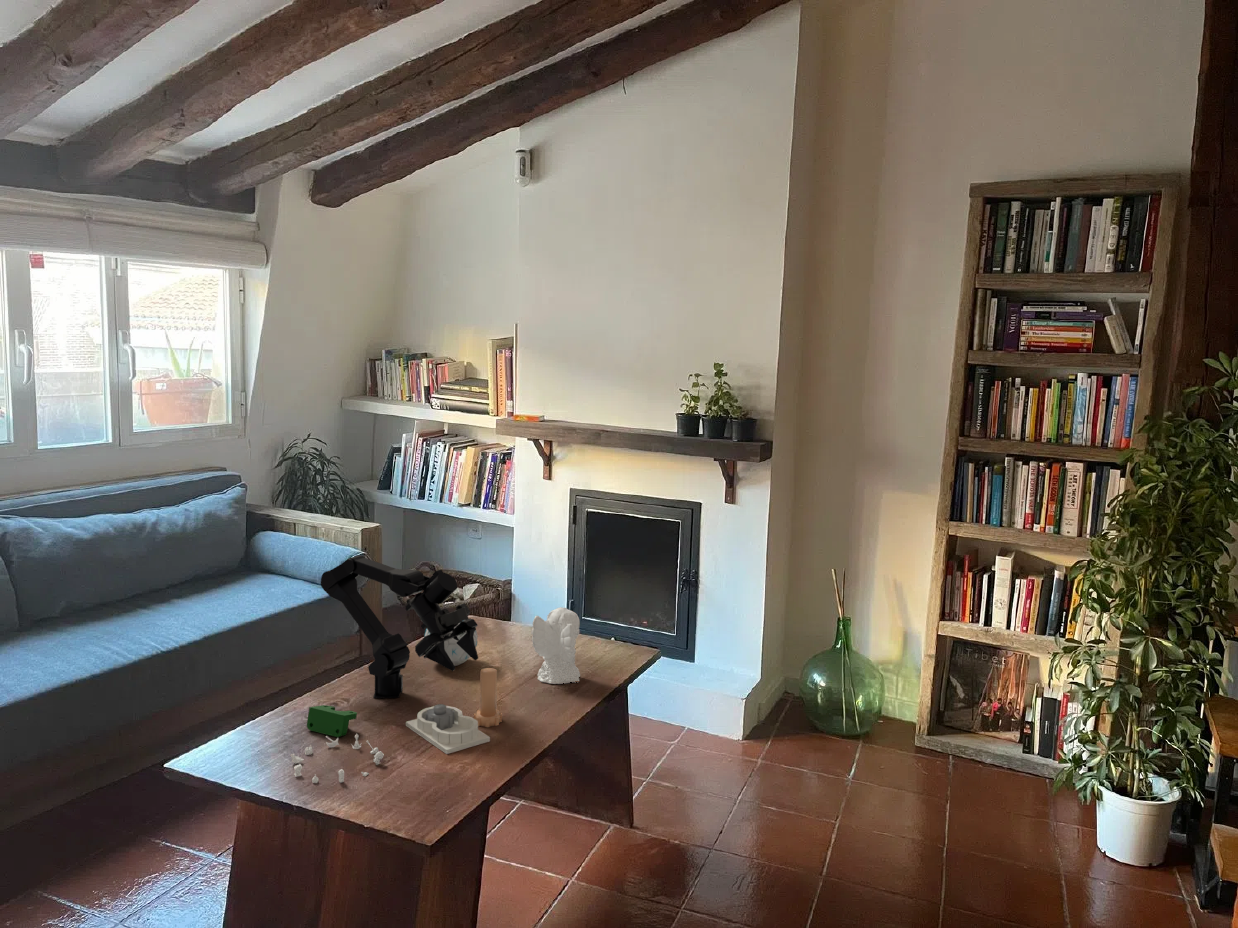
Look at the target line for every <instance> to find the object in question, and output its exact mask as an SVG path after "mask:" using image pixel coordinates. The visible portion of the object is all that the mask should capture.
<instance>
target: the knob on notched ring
mask: <svg viewBox="0 0 1238 928" xmlns="http://www.w3.org/2000/svg"><path fill="white" fill-rule="evenodd" d="M479 680H480V681H479V682H480V684H479V685H480V686H479V709H478V710H476V712H474V713H473V718H474V719H475V720H477V721H478V727H480V726H481V727H485V728H490V727H497V726H499V725H500V723H502V722H503V713H502V712H500V710H499V709H497V700H498V699H497V693H498V692H497V691H498V690H497V688H498V687H497V685H498V684H497V683H498V670H497V669H496V668H493V667H486V668H485V667H484V668H481V670H480V679H479Z"/></svg>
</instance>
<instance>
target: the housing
mask: <svg viewBox="0 0 1238 928" xmlns="http://www.w3.org/2000/svg"><path fill="white" fill-rule="evenodd" d="M416 716H417V717H416V718H415V719H411V720H408V721H406V722H405V727H407V728H409V729H410V730H411V731H412V732H414V733H415V734H417V735H419V736H420V737H421V738H422V739H424V740H425V741H427V742H429V743H430V744H431V745H433V746H434V747H435V748H437V749H438V750H440V751H441V752H443V753H444V754H446V755H449V754H451V753H455V752H458V751H462V750H465V749H468V748H471V747H472V748H473V747H475V746H478V745H482V744H486V743H488V742H491V736H489V735H488V734H486V733H484V732H483V731H481V730H480V729H479V726H478V721H477V720H475V719H474V717H472V716H467V715H463V711H462V710H461V709H459V708H457V707H455V706H449V705H446V704H443V703H439V704H435V705H433V706H431V707H430V706H429V707H426V708H423V709H422V710H420V711H419V712H417V715H416Z"/></svg>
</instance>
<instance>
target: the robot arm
mask: <svg viewBox="0 0 1238 928" xmlns="http://www.w3.org/2000/svg"><path fill="white" fill-rule="evenodd" d="M360 576H361V577H364V578H366V579H369V580H372V581H375V582H378V583H381V584H383V585H386V586H387V587H388V588H389V589H390V591H391V592H392V593H393V594H396V595H398V596H399V597H402V598H407V597H409V596H412V595H415V596H414V597H411V598H409V599H406V605H405V608H404V609H405V611H407V612H408V611H411V610H414V612H415V614H416V615H417V617H418V618H419V620H420V621H421V622H422V624H421V625H420V627H421V629H422V630H424V629H425V630H426V629H427V630H428V631H429V633H430V635H427V636H425V637H424V636H423V638H422V639H421V640H420V641H418V643H417V644H416V645H415V646H414V652H415V653H416V655H417V656H418V658H421V657H423V659H427V660H430V661H433V662H434V663H436V664H439V665H440V666H442V667H444V668H446V669H448V670H449V671H451V672H454V671H455V670H456V666H454V664H453V662H452V661H451V659H450V658H449V656H448V654H447V653H446V651H445V649H444V641H446V640H449V639H451V638H454V639H455V640H457V641H458V640H459V641H458V642H457V644H458V645H459V646H460V647H461V648H462V649H463V650H464V651H465V652H466V653H467V654H468V655H469V656H470V658H471V659H473V660H474V661H477V660H478V659H479V655H478V652H477V646H476V647H475V643H474V638H473V636H474V632H475V631H477V627H478V626H479V625H478V623H477V622H476V620H475V619H474V618H471V617H469V616H470V614H471V610H470V609H469V607H468V606H467V605H466V603H462V604H459V605H456V608H455V610H453V611H451V612H450V611H449V610H448V609H447V608H443V609H442V607H441V606H440V604H443V603H444V602H445V601H446V600H447V599H448V598H449V597H450V596H451V595H452V594H453V593H455V591H457V588H458V583H457V581H456V579H455V577H453V576H451V575H450V574H449V573H446V572H444V571H443V570H442V569H438V570H437V569H436V570H435V571H433V573H432V575H431V576H428V575H425V574H424V573H423V572H421V571H420V570H417V569H410V568H409V569H408V568H405V569H404V568H401V569H400V568H395V567H392V566H389V565H386V564H383V563H380V562H378V561H375V560H372V559H370V558H366V557H365V556H363V555H356V556H355V555H354V556H352V557H348V558H347V559H346V560H344V561H343V562H342V563H341V564H339V565H337V566H336V567H334V568H332V569H330V570H327V571H324V572H323V573H322V575H321V577H320V583H319V584H320V586H321V588H322V589H323V591H324V592H325V593H326V594H327V595H328V596H329V597H330V598H333V599H334V600H336V601H339V603H342V605H343V606H344V607H345V609H346V610H347V611H348V613H349V614H350V616H351V618H353V620H354V621H355V624H357V625H358V627H359V628H360V630H361V631H362V633H364V635H365V637H366V638H367V639H368V641H369V642H370V643H371V645H372V656H373V659H374V660H373V661H372V662H371V663H370V664H369V665H368V666H367V668H368V672H369V675H371V676H374V693H373V696H372V697H373V699H395V698H396V699H398V698H400V695H401V694H402V692H403V688H404V687H403V683H404V682H403V681H404V680H403V677H404V676H403V674H401V670H403V669H406V667H407V663H408V662H409V660H410V654H411V651H410V649H409V647H408V646H409V644H408V643H407V642H406V641H405V640H404V639H403V637H402V635H401V634H400V633H398V632H397V633H395V634H391V633H389V631H388V630H387V629H386V628H385V626H384V625H383V624H382V622H381V621H380V619H379V618H378V617H377V615H376V614H375V613H374V611H373V610H372V608H370V606H369V605H368V603H367V602H366V601H365V599H364V598H363V596H362V595H361V593H360V592H359V590H358V580H357V578H358V577H360ZM422 591H423V592H422ZM463 620H464V621H463ZM459 623H460V624H459ZM458 624H459V625H458ZM457 625H458V626H457ZM456 626H457V627H456ZM454 627H456V628H455V629H454Z"/></svg>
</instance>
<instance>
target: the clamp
mask: <svg viewBox="0 0 1238 928" xmlns="http://www.w3.org/2000/svg"><path fill="white" fill-rule="evenodd" d="M307 714H308V715H307V720H306V728H307V730H308V731H311V732H314V733H315V732H316V733H319V734H324V735H326V736H332V737H336V738H340V737H344V736H346V735H347V733H348V729H349V724H350V721H352V720H356V719H357V716H358V712H356V711H353V710H336V707H335V706H333V705H327V704H325V705H324V704H322V705H316V706H309V707H308V713H307Z"/></svg>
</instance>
